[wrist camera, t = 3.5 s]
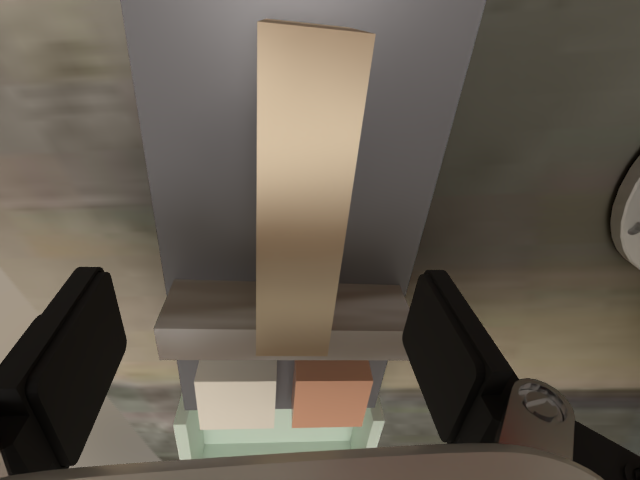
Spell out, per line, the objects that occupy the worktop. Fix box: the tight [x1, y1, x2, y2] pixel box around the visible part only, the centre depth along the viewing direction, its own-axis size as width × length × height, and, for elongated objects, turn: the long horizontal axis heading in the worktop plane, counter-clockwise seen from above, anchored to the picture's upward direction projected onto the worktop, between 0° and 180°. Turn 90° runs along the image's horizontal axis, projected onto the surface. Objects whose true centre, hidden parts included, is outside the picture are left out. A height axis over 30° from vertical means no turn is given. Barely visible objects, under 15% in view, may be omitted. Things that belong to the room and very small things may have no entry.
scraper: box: [154, 18, 410, 360], centre depth 15 cm, size 14×12×5 cm
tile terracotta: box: [291, 360, 373, 428], centre depth 23 cm, size 4×4×2 cm
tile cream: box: [194, 360, 277, 430], centre depth 23 cm, size 4×4×2 cm
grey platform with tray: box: [120, 0, 486, 460], centre depth 22 cm, size 36×14×4 cm, turn 175°
